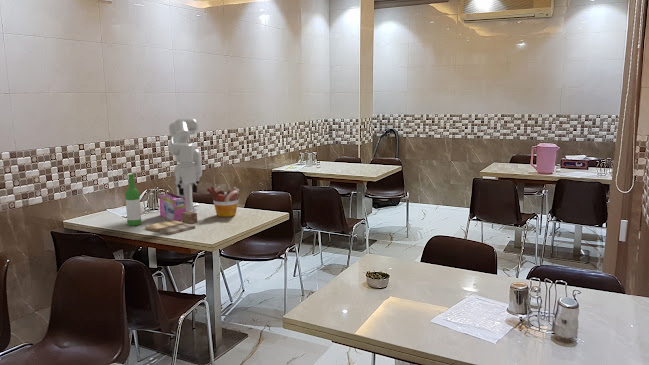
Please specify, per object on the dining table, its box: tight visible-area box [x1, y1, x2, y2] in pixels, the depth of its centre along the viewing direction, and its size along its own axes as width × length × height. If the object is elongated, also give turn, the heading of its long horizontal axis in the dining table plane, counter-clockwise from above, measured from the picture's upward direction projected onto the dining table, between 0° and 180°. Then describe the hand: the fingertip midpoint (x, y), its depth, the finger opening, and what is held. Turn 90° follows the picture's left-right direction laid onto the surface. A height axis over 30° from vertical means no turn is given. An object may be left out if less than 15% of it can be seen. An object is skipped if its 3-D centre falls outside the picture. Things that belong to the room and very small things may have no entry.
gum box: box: [159, 192, 186, 222], centre depth 316 cm, size 24×8×14 cm, turn 41°
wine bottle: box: [124, 173, 142, 227], centre depth 297 cm, size 8×8×30 cm
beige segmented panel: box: [144, 219, 184, 233], centre depth 292 cm, size 18×12×2 cm, turn 143°
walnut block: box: [181, 211, 198, 225], centre depth 304 cm, size 5×8×6 cm, turn 53°
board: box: [158, 222, 196, 236], centre depth 286 cm, size 18×9×2 cm, turn 143°
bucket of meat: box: [207, 185, 240, 218], centre depth 320 cm, size 20×16×20 cm
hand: (188, 193), depth 301 cm, fingers open, 9 cm apart
